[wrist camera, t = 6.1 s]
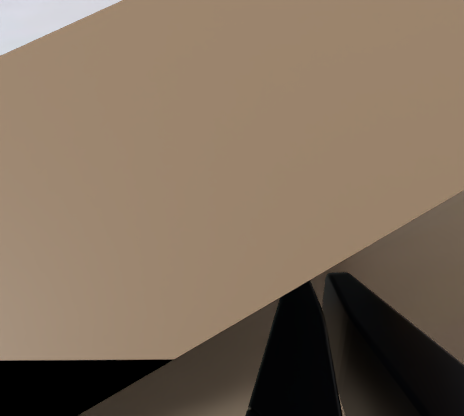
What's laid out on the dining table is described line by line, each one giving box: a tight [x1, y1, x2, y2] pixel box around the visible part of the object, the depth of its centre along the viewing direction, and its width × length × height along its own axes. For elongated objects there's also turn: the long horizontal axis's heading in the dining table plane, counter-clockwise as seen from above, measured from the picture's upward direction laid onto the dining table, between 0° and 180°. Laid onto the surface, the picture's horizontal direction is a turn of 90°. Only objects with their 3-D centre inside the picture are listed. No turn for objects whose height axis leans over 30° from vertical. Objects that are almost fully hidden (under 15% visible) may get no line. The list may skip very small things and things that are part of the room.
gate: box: [0, 0, 464, 416], centre depth 8 cm, size 14×2×12 cm, turn 119°
